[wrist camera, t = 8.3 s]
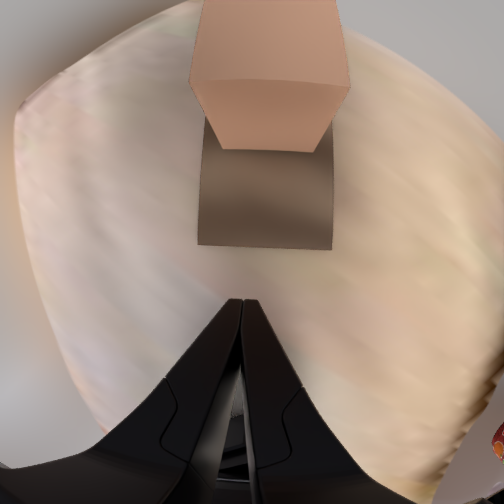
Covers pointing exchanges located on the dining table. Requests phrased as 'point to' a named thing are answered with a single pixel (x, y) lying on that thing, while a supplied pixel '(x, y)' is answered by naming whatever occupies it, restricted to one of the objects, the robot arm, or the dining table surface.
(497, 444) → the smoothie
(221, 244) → the stop block
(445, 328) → the dining table surface
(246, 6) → the pink box
